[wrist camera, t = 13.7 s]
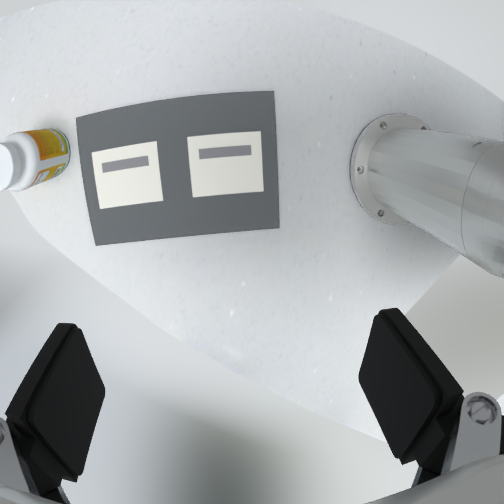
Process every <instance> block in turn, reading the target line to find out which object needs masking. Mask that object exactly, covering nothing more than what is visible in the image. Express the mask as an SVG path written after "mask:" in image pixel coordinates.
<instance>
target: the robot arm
mask: <svg viewBox="0 0 504 504" xmlns="http://www.w3.org/2000/svg"><path fill="white" fill-rule="evenodd" d="M380 124H381V128H380ZM358 167H359V170H358V171H357V168H358ZM350 174H351V182H352V186H353V189H354V193H355V195H356V197H357V199H358V201H359V203H360V204H361V205H362V206H363V208H364V209H365V210H366V211H367V212H368V213H369V214H370V215H372V216H373V217H375V218H376V219H378V220H380V221H382V222H385V223H387V224H393V225H400V224H406V223H410V222H411V223H412V224H414V225H416V226H417V227H419V228H421V229H422V230H424V231H426V232H427V233H429V234H430V235H432V236H434V237H435V238H437V239H438V240H440V241H442V242H443V243H445V244H446V245H448V246H449V247H451V248H453V249H454V250H456V251H457V252H459V253H460V254H462V255H463V256H465V257H466V258H468V259H469V260H470V261H472V262H474V263H475V264H477V265H478V266H480V267H481V268H483V269H484V270H486V271H487V272H489V273H491V274H493V275H495V276H498V277H501V278H504V142H501V141H496V140H491V139H485V138H480V137H474V136H468V135H461V134H454V133H447V132H439V131H431V130H430V128H429V127H428V126H427V125H426V124H424V123H423V122H422V121H421V120H419V119H417V118H415V117H413V116H409V115H405V114H390V115H385V116H382V117H380V118H377V119H376V120H374V121H373V122H371V123H370V124H369V125H368V126H367V127H366V128H365V129H364V130H363V132H362V133H361V135H360V136H359V138H358V139H357V142H356V144H355V146H354V149H353V153H352V157H351V167H350ZM378 211H379V212H378ZM359 383H360V385H361V387H362V389H363V391H364V393H365V395H366V397H367V400H368V402H369V404H370V406H371V408H372V410H373V412H374V414H375V416H376V418H377V421H378V423H379V425H380V427H381V429H382V431H383V434H384V436H385V438H386V440H387V442H388V444H389V447H390V449H391V451H392V453H393V455H394V457H395V458H399V459H400V461H401V464H402V465H403V464H406V463H408V462H411V461H414V460H416V461H417V463H418V465H419V467H418V470H417V473H416V476H415V479H414V481H413V484H412V487H411V488H410V489H407V490H404V491H401V492H399V493H396V494H393V495H390V496H387V497H384V498H381V499H378V500H375V501H372V502H368V503H365V504H504V416H503V415H502V414H501V408H500V406H499V404H498V402H497V401H496V400H495V399H494V398H493V397H492V396H490V395H488V394H486V393H482V392H475V393H471V394H469V395H467V396H466V398H464V396H463V395H462V393H463V392H464V391H463V389H462V388H461V387H460V385H459V384H458V382H457V381H456V380H455V379H454V377H453V376H452V375H451V373H450V372H449V371H448V370H447V368H446V367H445V365H444V364H443V363H442V361H441V360H440V359H439V358H438V357H437V355H436V354H435V353H434V351H433V350H432V349H431V347H430V346H429V345H428V344H427V343H426V341H425V340H424V339H423V338H422V336H421V335H420V334H419V333H418V331H417V330H416V329H415V328H414V327H413V326H412V324H411V323H410V322H409V321H408V320H407V318H406V317H405V316H404V315H403V313H402V312H401V311H400V310H399V309H398V308H390V309H383V310H380V311H379V313H378V315H375V317H374V320H373V324H372V328H371V332H370V336H369V339H368V343H367V347H366V350H365V354H364V358H363V361H362V364H361V368H360V371H359ZM104 397H105V387H104V384H103V382H102V380H101V377H100V375H99V373H98V370H97V368H96V366H95V363H94V361H93V358H92V356H91V353H90V351H89V348H88V346H87V343H86V340H85V338H84V335H83V332H82V330H81V329H80V328H78V327H77V326H76V325H75V324H72V323H58V324H57V326H56V327H55V329H54V330H53V332H52V334H51V335H50V336H49V338H48V339H47V341H46V343H45V344H44V346H43V347H42V349H41V350H40V352H39V354H38V356H37V357H36V359H35V360H34V362H33V364H32V365H31V367H30V369H29V370H28V372H27V374H26V375H25V377H24V379H23V381H22V383H21V384H20V386H19V388H18V390H17V392H16V393H15V395H14V397H13V399H12V401H11V403H10V405H9V407H8V408H7V410H6V413H5V414H6V416H7V419H6V421H4V420H3V419H2V418H0V504H70V502H69V500H68V498H67V497H66V495H65V493H64V491H63V489H62V487H61V481H62V479H65V480H69V481H72V482H77V478H78V475H79V476H80V475H81V474H82V473H83V470H84V466H85V462H86V458H87V454H88V451H89V447H90V443H91V440H92V436H93V432H94V429H95V426H96V423H97V419H98V416H99V412H100V409H101V406H102V403H103V400H104Z"/></svg>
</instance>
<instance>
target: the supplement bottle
mask: <svg viewBox="0 0 504 504" xmlns="http://www.w3.org/2000/svg"><path fill="white" fill-rule="evenodd" d="M69 154H70V150H69V144H68V141H67V139H66V137H65V136H64V135H63V134H62V133H61V132H60V131H58V130H55V129H43V130H33V131H25V132H17V133H13V134H11V135H9V136H7V137H6V138H5V139H4V140H3V141H2V142H1V143H0V191H2V190H5V189H7V190H9V191H13V192H18V191H22V190H25V189H27V188H29V187H32V186H34V185H36V184H39V183H41V182H44V181H46V180H49V179H51V178H54V177H56V176H58V175H59V174H60V173H61V172H62V171H63V170H64V169H65V167H66V165H67V163H68V160H69Z"/></svg>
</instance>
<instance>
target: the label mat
mask: <svg viewBox="0 0 504 504" xmlns="http://www.w3.org/2000/svg"><path fill="white" fill-rule="evenodd" d="M76 126H77V137H78V146H79V155H80V163H81V170H82V177H83V183H84V190H85V195H86V201H87V207H88V212H89V217H90V222H91V227H92V231H93V236H94V240H95V245H96V246H99V245H108V244H117V243H126V242H135V241H145V240H154V239H164V238H174V237H184V236H194V235H205V234H216V233H227V232H238V231H250V230H261V229H273V228H279V193H278V166H277V142H276V121H275V102H274V91H257V92H235V93H220V94H208V95H198V96H189V97H181V98H173V99H166V100H159V101H153V102H147V103H141V104H136V105H130V106H125V107H120V108H115V109H111V110H106V111H102V112H98V113H94V114H89V115H86V116H82V117H78V118H76Z"/></svg>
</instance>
